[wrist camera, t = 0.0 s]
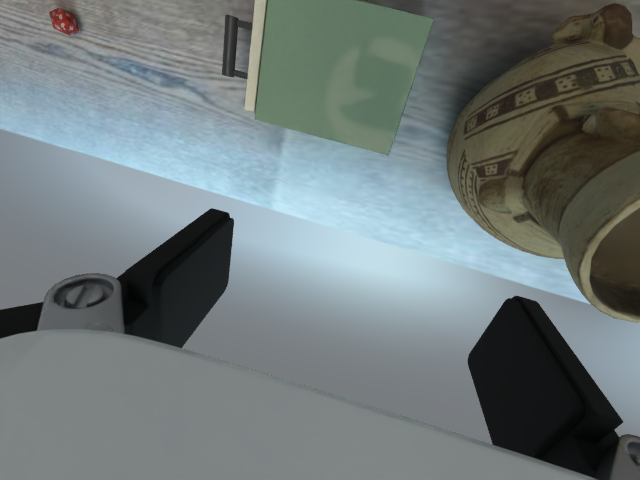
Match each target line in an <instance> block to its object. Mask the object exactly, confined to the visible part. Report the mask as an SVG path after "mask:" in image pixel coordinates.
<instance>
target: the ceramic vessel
mask: <svg viewBox="0 0 640 480" xmlns="http://www.w3.org/2000/svg"><path fill="white" fill-rule="evenodd" d="M551 38H552V40H553V42H554V44H553V45H552V46H550V47H548V48H546V49H544V50H541V51H539V52H537V53H535V54H534V55H532V56H530V57H528V58H526V59H525V60H523V61H521V62H520V63H518V64H517V65H515V66H514V67H512V68H511V69H509V70H508V71H506V72H505V73H504V74H502V75H501V76H500V77H498V78H497V79H495V80H494V81H492V82H491V83H489V84H488V85H486V86H485V87H484V88H483V89H482V90H480V91H479V92H478V93H477V94H476V95H475V96H474V97H473V98H472V99H471V101H470V102H469V103H468V104H467V105H466V106H465V108H464V109H463V110H462V111H461V113H460V114H459V116H458V117H457V119H456V121H455V123H454V125H453V128H452V130H451V133H450V136H449V139H448V145H447V170H448V176H449V181H450V184H451V187H452V190H453V192H454V194H455V196H456V198H457V200H458V201H459V203H460V204H461V206H462V207H463V209H464V210H465V211H466V213H467V214H468V215H469V216H470V217H471V218H472V219H473V220H474V221H475V222H476V223H477V224H478V225H479V226H480V227H481V228H482V229H483V230H485V231H486V232H488V233H489V234H490V235H492V236H494V237H495V238H497V239H498V240H500V241H502V242H503V243H505V244H507V245H510V246H512V247H514V248H516V249H519V250H521V251H524V252H527V253H531V254H534V255H537V256H542V257H548V258H555V259H565V262H566V265H567V268H568V270H569V272H570V274H571V276H572V279H573V281H574V283H575V284H576V286H577V287H578V289H579V290H580V292H581V293H582V294H583V295H584V297H585V298H586V299H587V300H588V301H589V302H590V303H591V304H592V305H593V306H594V307H596V308H597V309H599V310H600V311H601V312H603V313H605V314H607V315H609V316H611V317H613V318H616V319H621V320H626V321H631V322H639V323H640V38H637V37H635V36H633V34H632V19H631V13H630V12H629V10H628V9H627V7H626V6H624V5H621V4H615V3H614V4H611V5H607V6H605V7H603V8H601V9H600V10H598V11H597V12H595V13H593V14H588V15H583V16H573V17H570V18H569V19H567V20H566V21H565V22H564V23H562V24H561V25H560V26H559V27H558V28H557V29H556V31H555V32H554V34H553V35H552V37H551Z"/></svg>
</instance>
